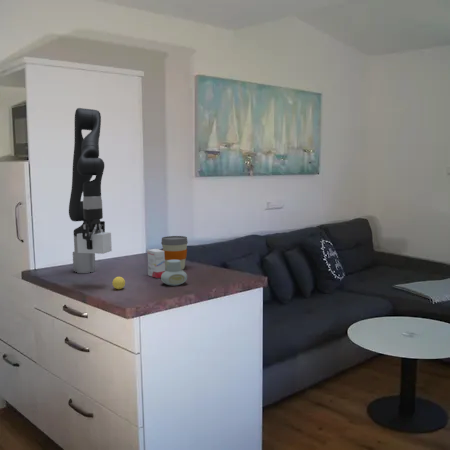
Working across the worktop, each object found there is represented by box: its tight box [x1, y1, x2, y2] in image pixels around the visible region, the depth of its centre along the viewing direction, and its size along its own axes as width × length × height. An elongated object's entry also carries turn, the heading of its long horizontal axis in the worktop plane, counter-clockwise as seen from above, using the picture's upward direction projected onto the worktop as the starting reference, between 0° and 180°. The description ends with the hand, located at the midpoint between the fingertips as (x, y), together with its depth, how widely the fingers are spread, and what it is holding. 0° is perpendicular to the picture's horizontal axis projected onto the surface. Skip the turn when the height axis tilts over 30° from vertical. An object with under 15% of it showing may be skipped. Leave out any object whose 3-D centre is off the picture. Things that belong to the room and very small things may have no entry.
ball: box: [111, 276, 126, 290], centre depth 204 cm, size 5×5×5 cm
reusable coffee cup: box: [160, 235, 188, 271], centre depth 243 cm, size 13×12×15 cm
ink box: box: [146, 248, 166, 279], centre depth 227 cm, size 9×5×12 cm, turn 33°
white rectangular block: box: [77, 231, 113, 255], centre depth 207 cm, size 12×7×8 cm, turn 73°
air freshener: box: [160, 260, 188, 287], centre depth 211 cm, size 11×8×10 cm
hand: (94, 247), depth 207 cm, fingers closed on white rectangular block, 6 cm apart
